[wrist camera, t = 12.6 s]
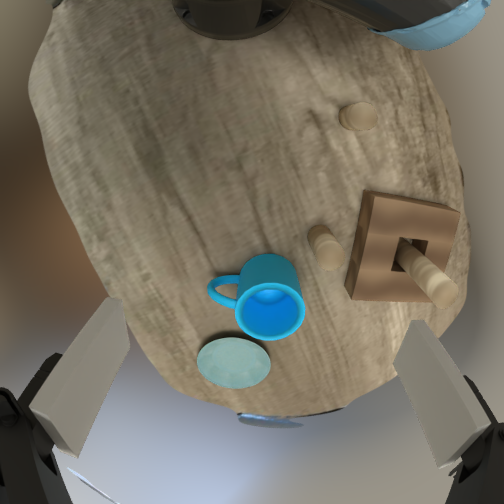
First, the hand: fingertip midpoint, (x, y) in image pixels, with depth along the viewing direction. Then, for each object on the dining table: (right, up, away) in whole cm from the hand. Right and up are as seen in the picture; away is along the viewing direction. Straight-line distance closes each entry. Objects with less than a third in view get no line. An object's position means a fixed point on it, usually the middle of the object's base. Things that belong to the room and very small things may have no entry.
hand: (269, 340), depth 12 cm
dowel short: (+11, +20, +20) cm, 31 cm away
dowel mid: (+8, +6, +26) cm, 28 cm away
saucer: (-4, -13, +35) cm, 38 cm away
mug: (0, 0, +29) cm, 29 cm away
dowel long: (+20, +4, +27) cm, 34 cm away
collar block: (+20, +5, +26) cm, 34 cm away
